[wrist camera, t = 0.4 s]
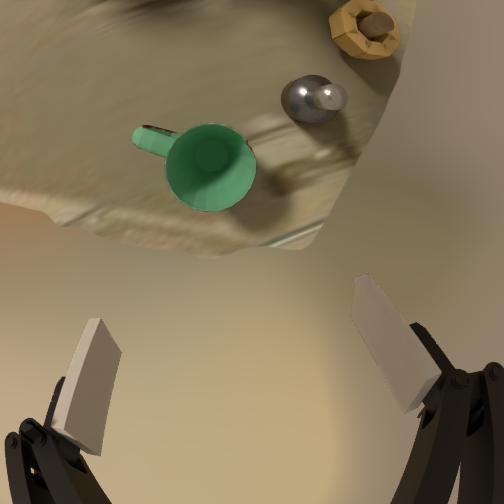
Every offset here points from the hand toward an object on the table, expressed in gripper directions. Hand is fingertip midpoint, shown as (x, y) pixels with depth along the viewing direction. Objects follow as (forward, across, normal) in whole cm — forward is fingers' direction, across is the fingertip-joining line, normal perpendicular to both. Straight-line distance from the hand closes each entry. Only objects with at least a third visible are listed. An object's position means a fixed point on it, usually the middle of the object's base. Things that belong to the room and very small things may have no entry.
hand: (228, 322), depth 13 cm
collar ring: (+26, +22, +22) cm, 40 cm away
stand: (+29, +22, +22) cm, 42 cm away
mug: (+29, -2, +5) cm, 29 cm away
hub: (+29, +14, +10) cm, 33 cm away
